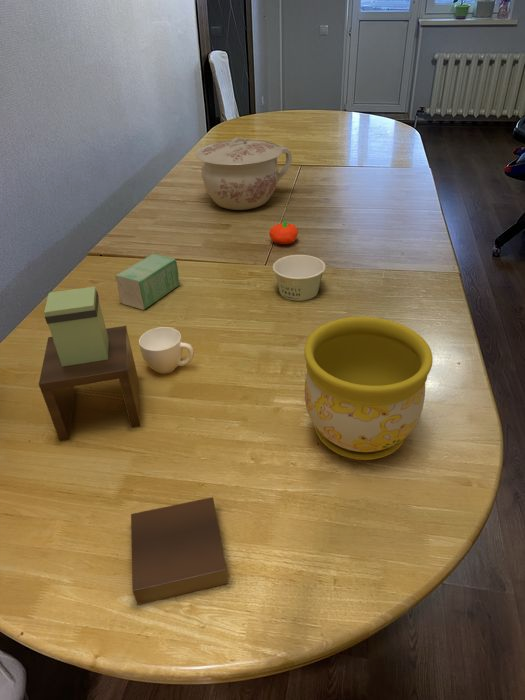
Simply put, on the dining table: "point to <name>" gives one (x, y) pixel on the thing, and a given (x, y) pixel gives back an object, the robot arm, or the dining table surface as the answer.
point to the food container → (299, 276)
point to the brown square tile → (176, 551)
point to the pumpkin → (283, 233)
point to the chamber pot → (242, 172)
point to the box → (147, 281)
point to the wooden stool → (89, 380)
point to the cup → (164, 349)
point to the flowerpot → (365, 384)
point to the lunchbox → (77, 326)
